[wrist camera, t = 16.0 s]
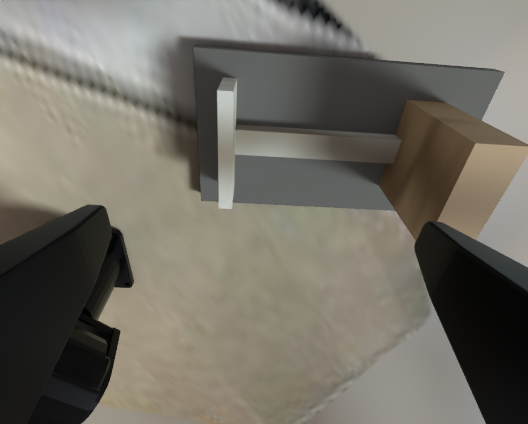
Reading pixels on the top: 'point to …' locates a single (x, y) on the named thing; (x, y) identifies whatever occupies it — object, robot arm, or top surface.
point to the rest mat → (319, 117)
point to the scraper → (393, 159)
